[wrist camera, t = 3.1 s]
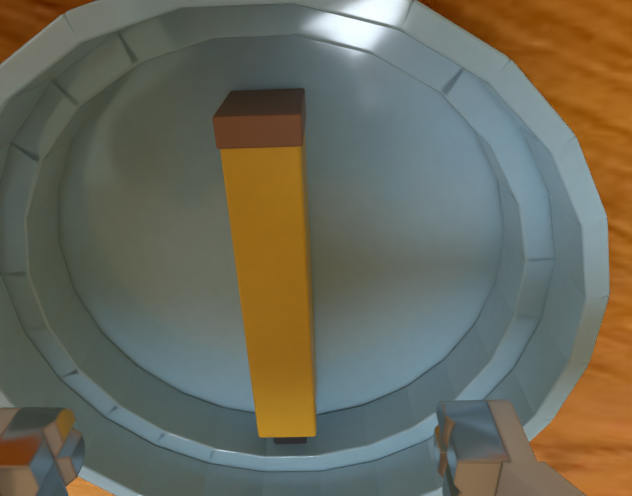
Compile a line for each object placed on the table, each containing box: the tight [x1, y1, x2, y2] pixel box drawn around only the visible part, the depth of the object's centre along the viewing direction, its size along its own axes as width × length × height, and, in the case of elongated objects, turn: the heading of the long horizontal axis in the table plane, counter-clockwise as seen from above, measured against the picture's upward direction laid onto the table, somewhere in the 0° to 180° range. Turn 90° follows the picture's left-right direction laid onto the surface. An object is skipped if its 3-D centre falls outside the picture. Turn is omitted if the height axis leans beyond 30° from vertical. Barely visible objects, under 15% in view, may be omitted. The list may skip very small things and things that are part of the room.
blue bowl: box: [0, 0, 610, 496], centre depth 15 cm, size 17×17×4 cm
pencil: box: [212, 88, 317, 444], centre depth 16 cm, size 12×2×3 cm, turn 2°
